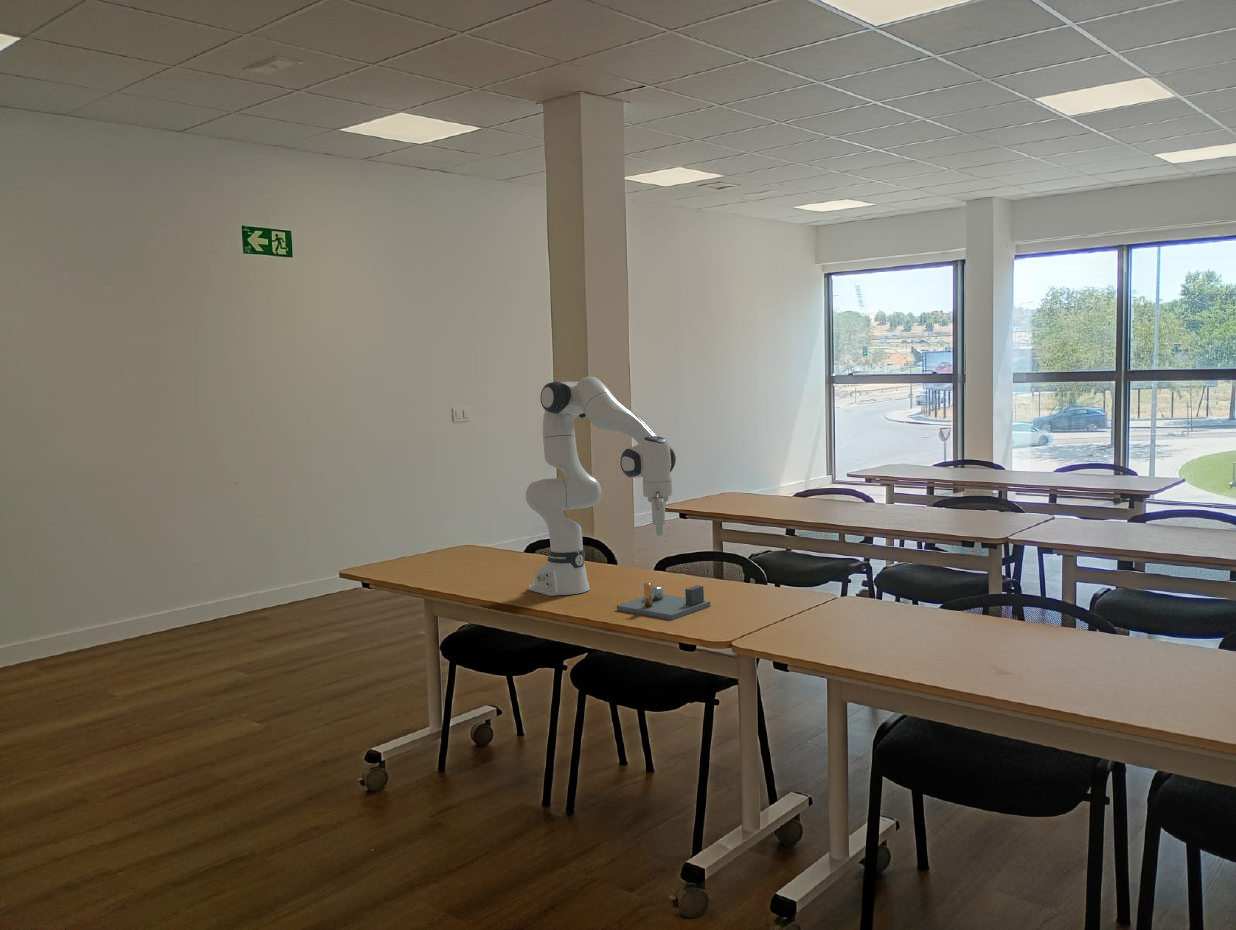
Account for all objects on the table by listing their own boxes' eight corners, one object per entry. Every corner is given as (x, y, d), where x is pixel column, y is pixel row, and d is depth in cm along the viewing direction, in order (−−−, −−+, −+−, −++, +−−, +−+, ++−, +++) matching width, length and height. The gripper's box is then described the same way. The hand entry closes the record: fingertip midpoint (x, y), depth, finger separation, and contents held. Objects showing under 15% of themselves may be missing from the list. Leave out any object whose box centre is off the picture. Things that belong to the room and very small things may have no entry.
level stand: (616, 610, 296) (615, 589, 296) (655, 597, 310) (655, 577, 310) (672, 619, 282) (671, 598, 281) (710, 606, 296) (709, 585, 295)
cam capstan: (649, 596, 305) (648, 574, 305) (665, 596, 304) (664, 574, 303) (639, 606, 292) (638, 584, 292) (655, 607, 291) (654, 584, 290)
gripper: (668, 494, 279) (670, 540, 280) (667, 485, 299) (669, 528, 301) (646, 495, 279) (648, 541, 281) (647, 486, 299) (649, 529, 301)
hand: (659, 534), depth 291 cm, fingers closed
